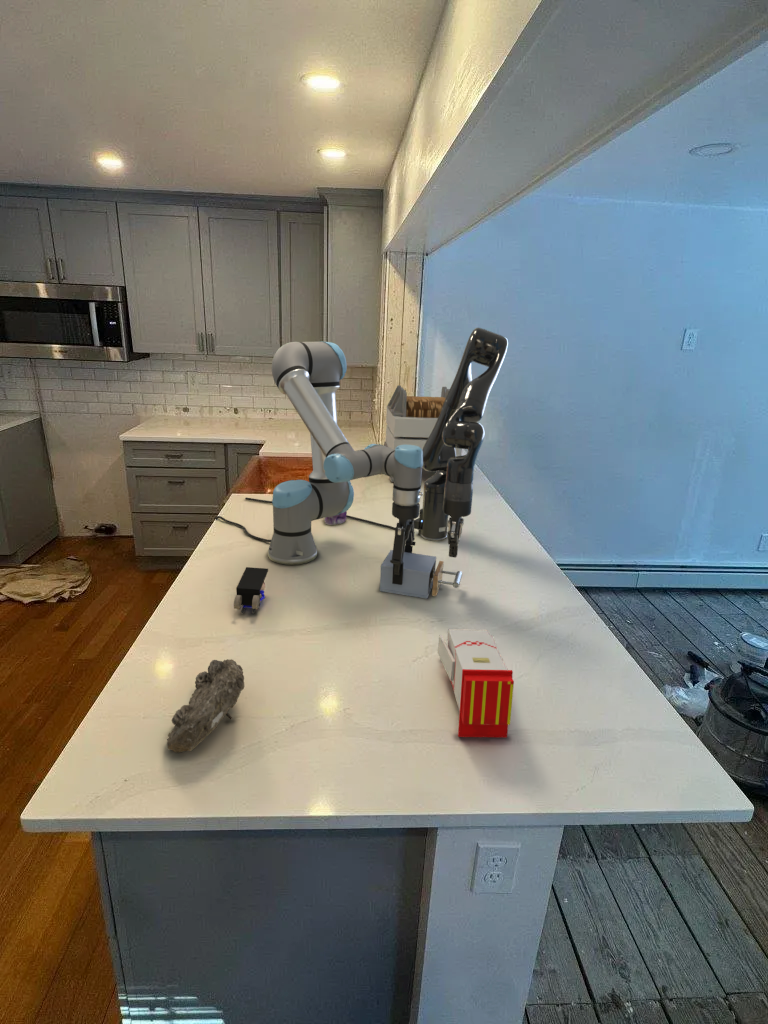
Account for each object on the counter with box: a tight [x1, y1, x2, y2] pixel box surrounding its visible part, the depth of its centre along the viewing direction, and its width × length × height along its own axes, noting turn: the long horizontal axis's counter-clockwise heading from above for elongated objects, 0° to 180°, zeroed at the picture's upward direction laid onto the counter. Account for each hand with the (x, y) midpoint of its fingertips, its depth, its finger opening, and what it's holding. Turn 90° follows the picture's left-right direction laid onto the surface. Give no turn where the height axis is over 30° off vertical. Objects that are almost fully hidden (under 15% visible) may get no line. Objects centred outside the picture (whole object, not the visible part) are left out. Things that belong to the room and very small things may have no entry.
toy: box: [437, 628, 515, 738], centre depth 117 cm, size 12×13×30 cm
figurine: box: [323, 510, 348, 526], centre depth 206 cm, size 9×10×15 cm
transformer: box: [383, 384, 463, 483], centre depth 268 cm, size 34×33×41 cm
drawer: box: [428, 560, 463, 597], centre depth 160 cm, size 18×10×6 cm, turn 75°
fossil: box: [166, 658, 245, 754], centre depth 106 cm, size 22×10×15 cm
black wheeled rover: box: [233, 566, 269, 615], centre depth 148 cm, size 7×8×15 cm
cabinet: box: [379, 549, 437, 599], centre depth 161 cm, size 14×11×8 cm
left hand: (402, 574), depth 162 cm, fingers closed on cabinet, 11 cm apart
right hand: (452, 556), depth 156 cm, fingers closed
